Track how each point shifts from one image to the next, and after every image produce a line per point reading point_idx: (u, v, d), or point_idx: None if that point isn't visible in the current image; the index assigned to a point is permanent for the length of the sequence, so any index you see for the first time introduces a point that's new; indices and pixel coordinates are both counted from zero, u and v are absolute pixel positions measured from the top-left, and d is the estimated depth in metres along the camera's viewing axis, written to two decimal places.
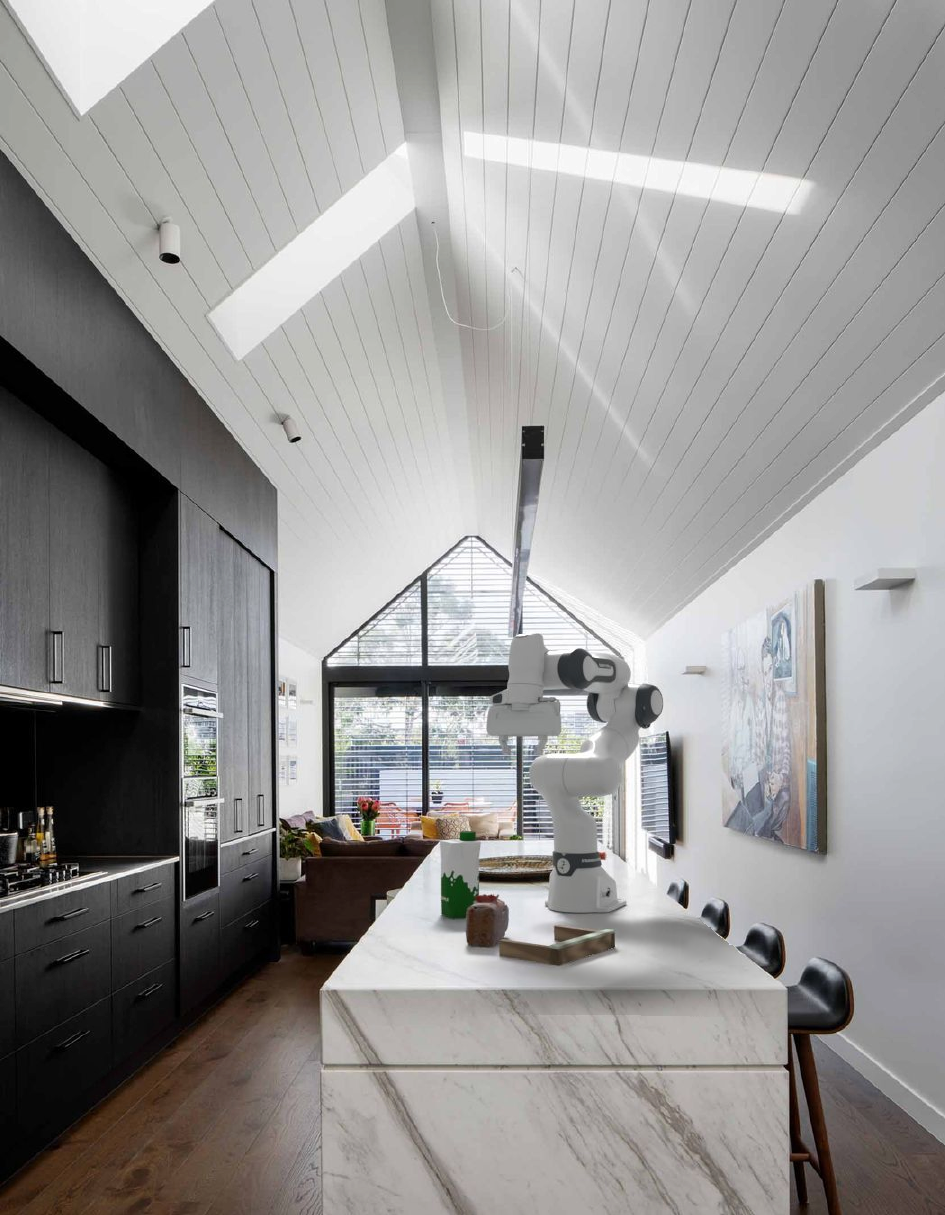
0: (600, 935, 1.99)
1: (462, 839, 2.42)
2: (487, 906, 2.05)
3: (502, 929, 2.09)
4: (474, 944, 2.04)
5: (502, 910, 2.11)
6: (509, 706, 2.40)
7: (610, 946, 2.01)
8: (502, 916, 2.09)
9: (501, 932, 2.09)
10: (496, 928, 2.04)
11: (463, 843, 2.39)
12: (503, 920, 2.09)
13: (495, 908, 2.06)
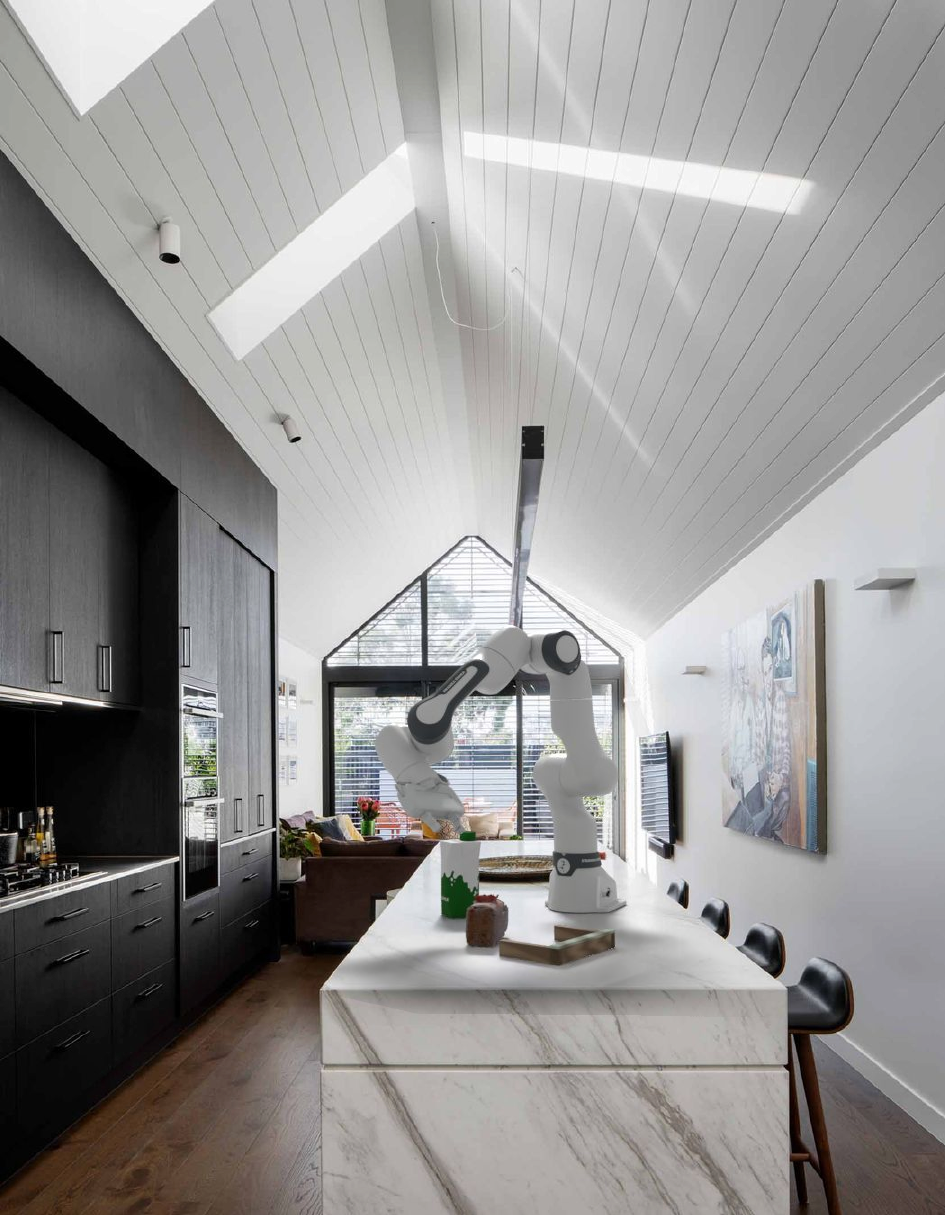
0: (600, 935, 1.99)
1: (462, 839, 2.42)
2: (487, 906, 2.05)
3: (502, 929, 2.09)
4: (474, 944, 2.04)
5: (502, 910, 2.11)
6: None
7: (610, 946, 2.01)
8: (502, 916, 2.09)
9: (501, 932, 2.09)
10: (496, 928, 2.04)
11: (463, 843, 2.39)
12: (503, 920, 2.09)
13: (495, 908, 2.06)
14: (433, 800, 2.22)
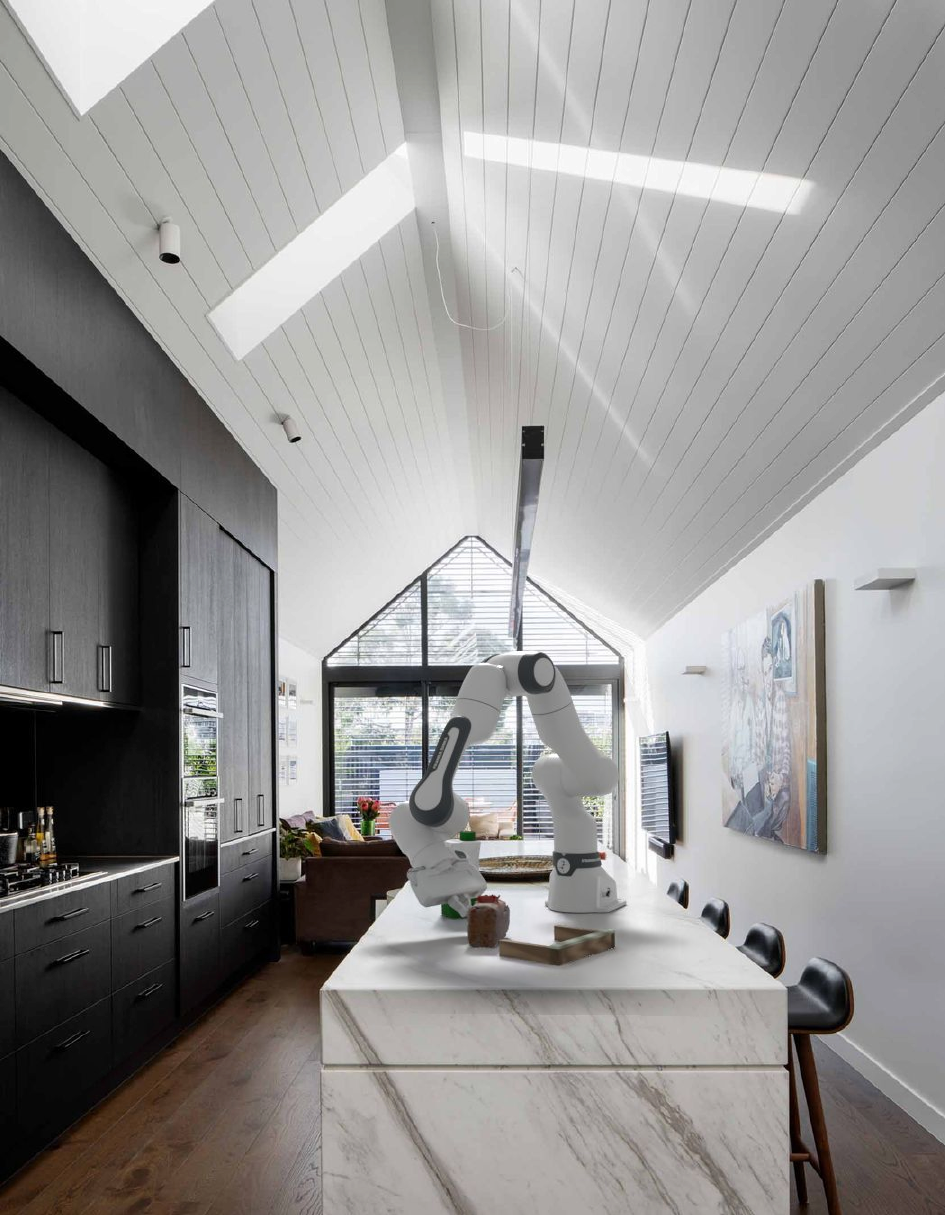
0: (600, 935, 1.99)
1: (462, 839, 2.42)
2: (489, 906, 2.04)
3: (504, 929, 2.08)
4: (476, 945, 2.03)
5: (503, 910, 2.11)
6: None
7: (610, 946, 2.01)
8: (503, 916, 2.09)
9: (502, 932, 2.08)
10: (498, 928, 2.04)
11: (463, 843, 2.39)
12: (504, 921, 2.09)
13: (497, 908, 2.05)
14: (449, 883, 2.15)
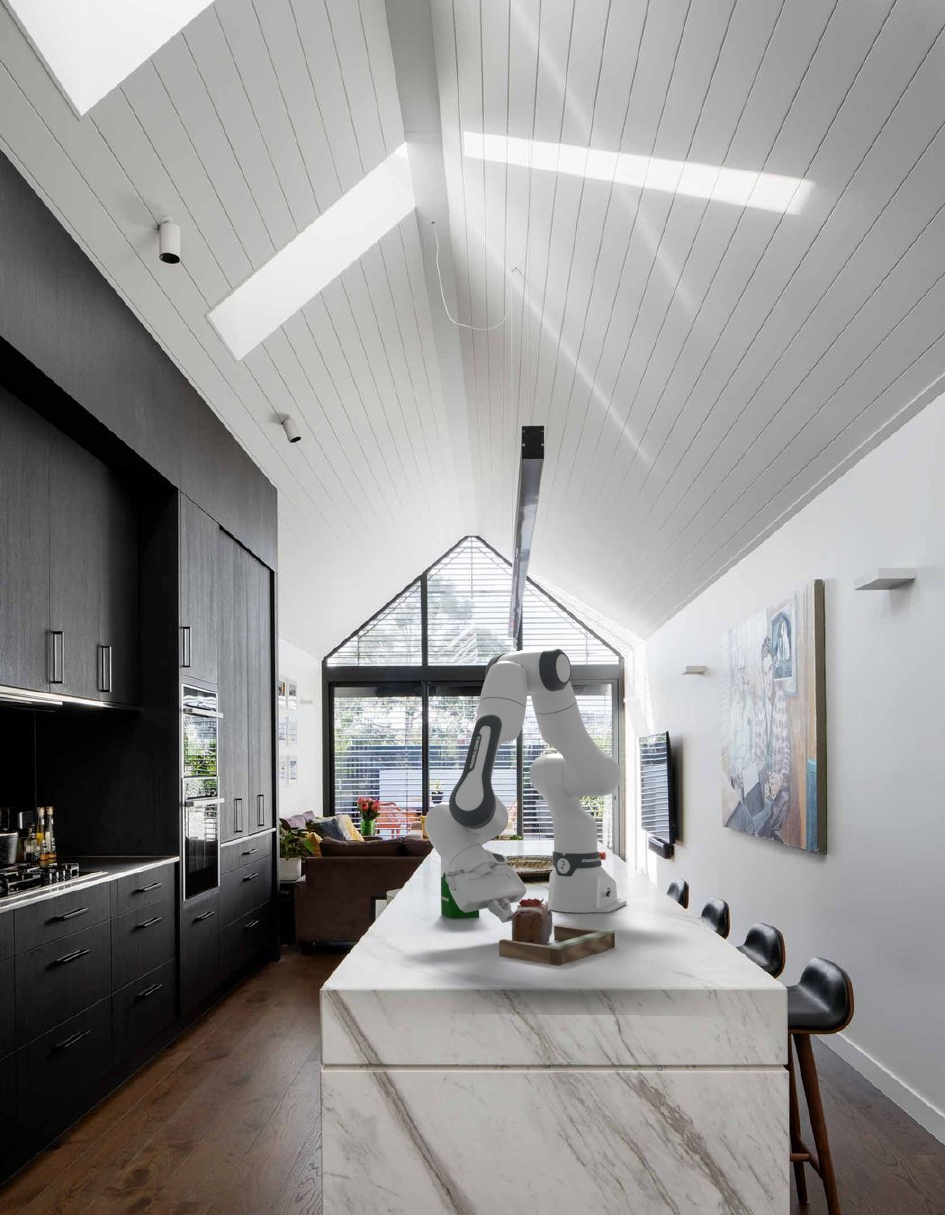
0: (600, 935, 1.99)
1: None
2: (534, 911, 1.99)
3: (548, 934, 2.03)
4: None
5: (547, 915, 2.05)
6: None
7: (610, 946, 2.01)
8: (548, 921, 2.03)
9: (547, 937, 2.03)
10: (543, 933, 1.98)
11: None
12: (548, 925, 2.03)
13: (542, 913, 2.00)
14: (489, 887, 2.09)
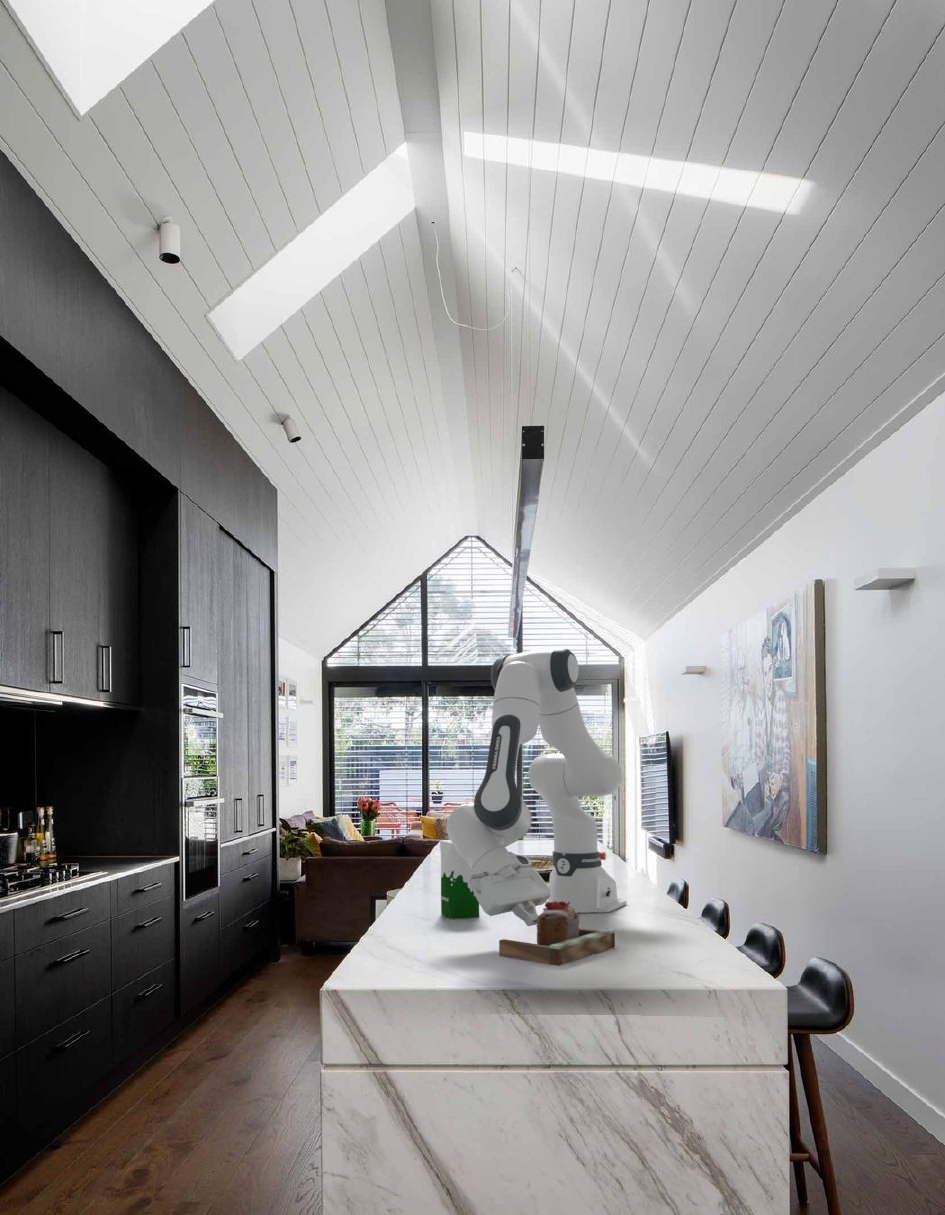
0: (600, 935, 1.99)
1: None
2: (559, 914, 1.95)
3: None
4: None
5: (573, 918, 2.02)
6: None
7: (610, 946, 2.01)
8: (574, 924, 2.00)
9: None
10: (569, 937, 1.95)
11: None
12: (575, 929, 2.00)
13: (567, 916, 1.96)
14: (514, 890, 2.05)
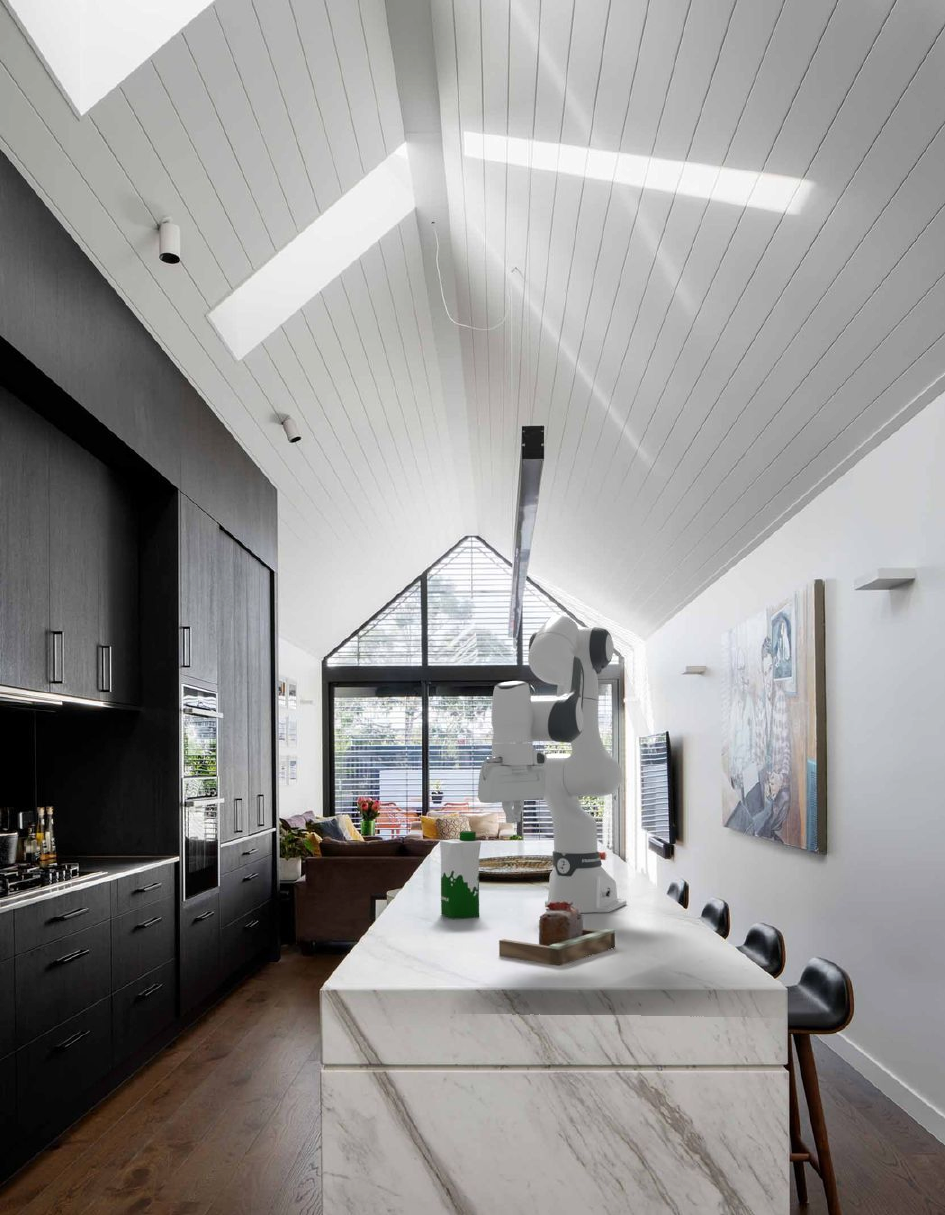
0: (600, 935, 1.99)
1: (462, 839, 2.42)
2: (561, 914, 1.95)
3: None
4: None
5: (576, 918, 2.01)
6: None
7: (610, 946, 2.01)
8: (576, 925, 1.99)
9: None
10: (571, 938, 1.94)
11: (463, 843, 2.39)
12: (577, 929, 1.99)
13: (569, 916, 1.96)
14: (514, 788, 2.07)
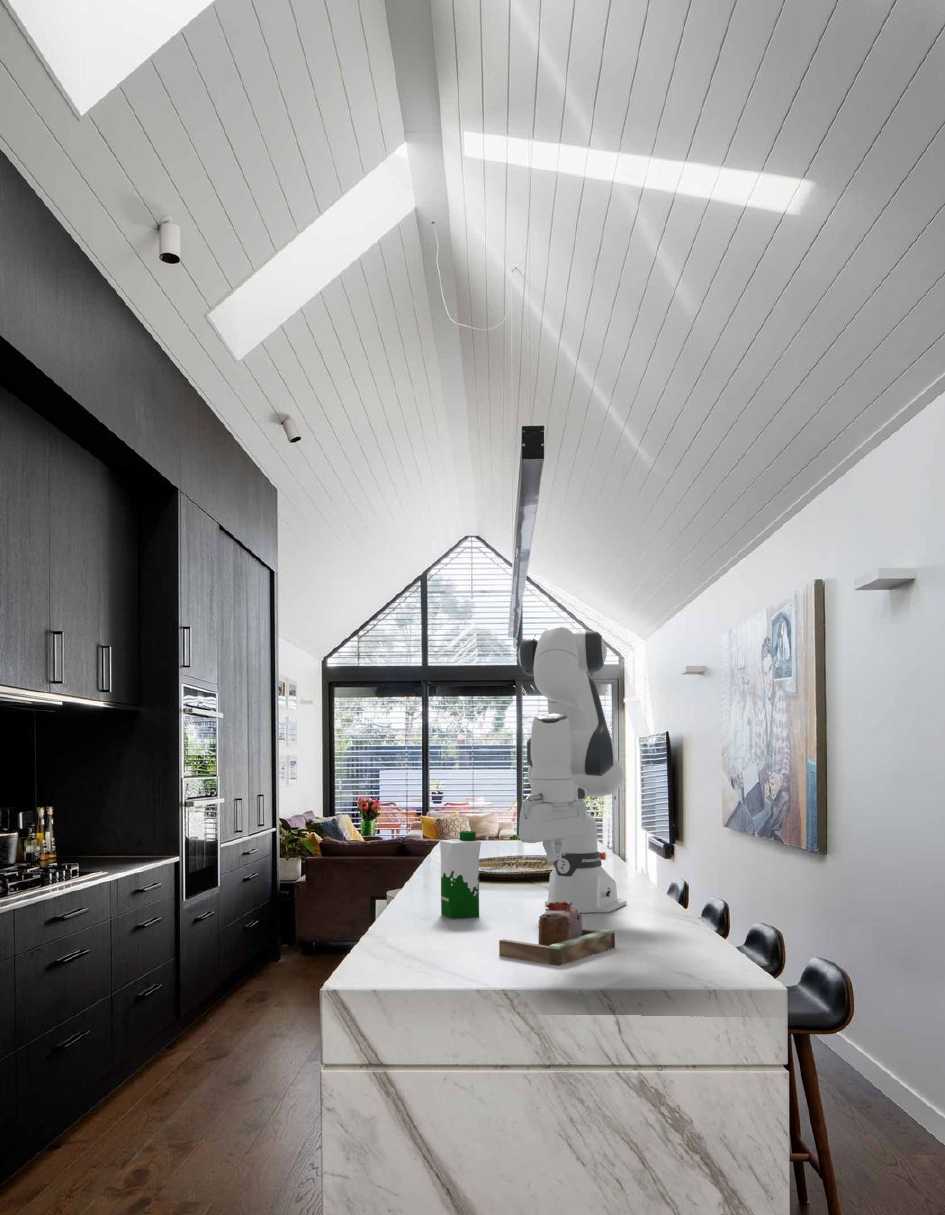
0: (600, 935, 1.99)
1: (462, 839, 2.42)
2: (561, 914, 1.95)
3: None
4: None
5: (576, 918, 2.01)
6: None
7: (610, 946, 2.01)
8: (576, 925, 1.99)
9: None
10: (570, 938, 1.94)
11: (463, 843, 2.39)
12: (577, 929, 1.99)
13: (569, 916, 1.96)
14: (555, 826, 2.00)
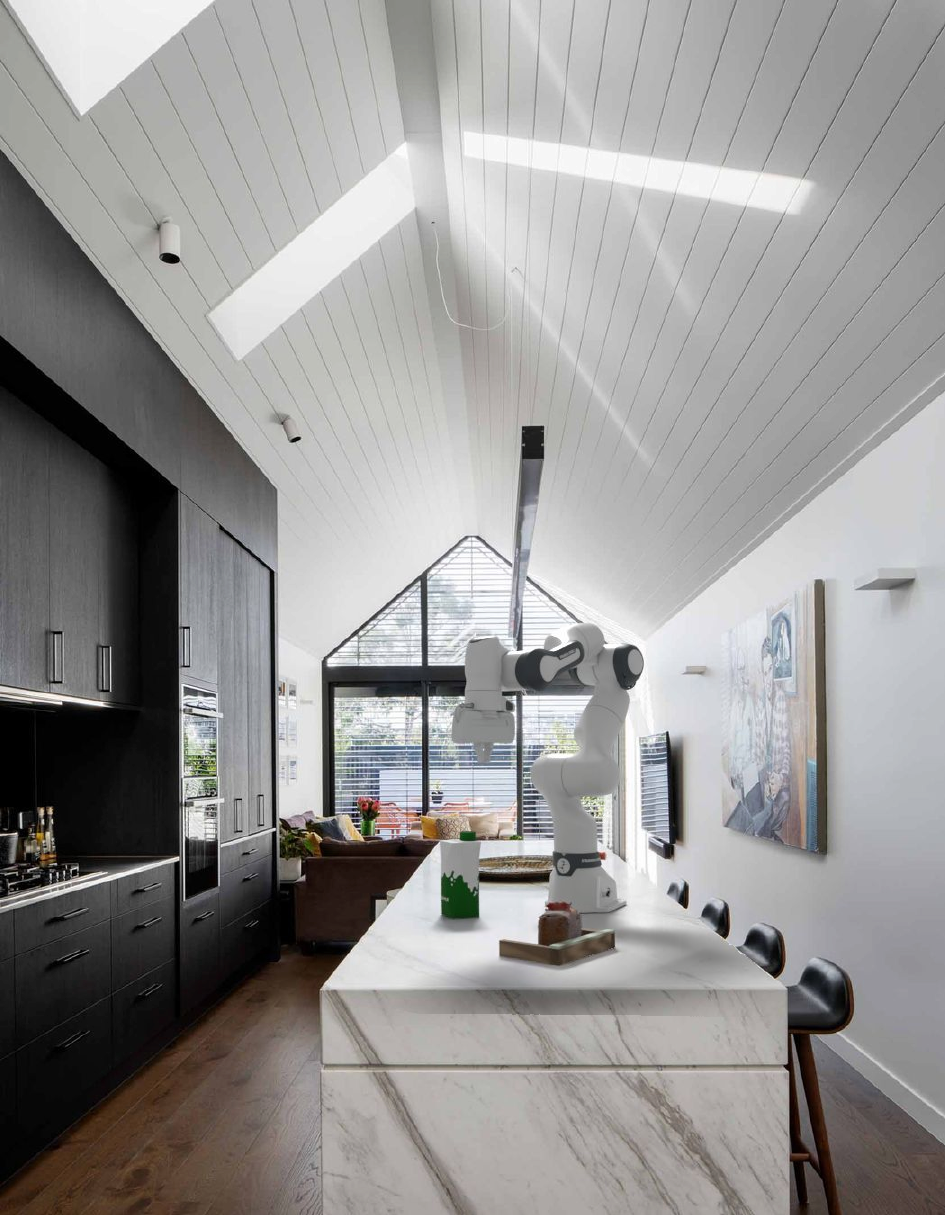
0: (600, 935, 1.99)
1: (462, 839, 2.42)
2: (560, 914, 1.95)
3: None
4: None
5: (575, 918, 2.01)
6: None
7: (610, 946, 2.01)
8: (576, 925, 1.99)
9: None
10: (570, 938, 1.94)
11: (463, 843, 2.39)
12: (577, 929, 1.99)
13: (569, 917, 1.96)
14: (484, 731, 2.30)
